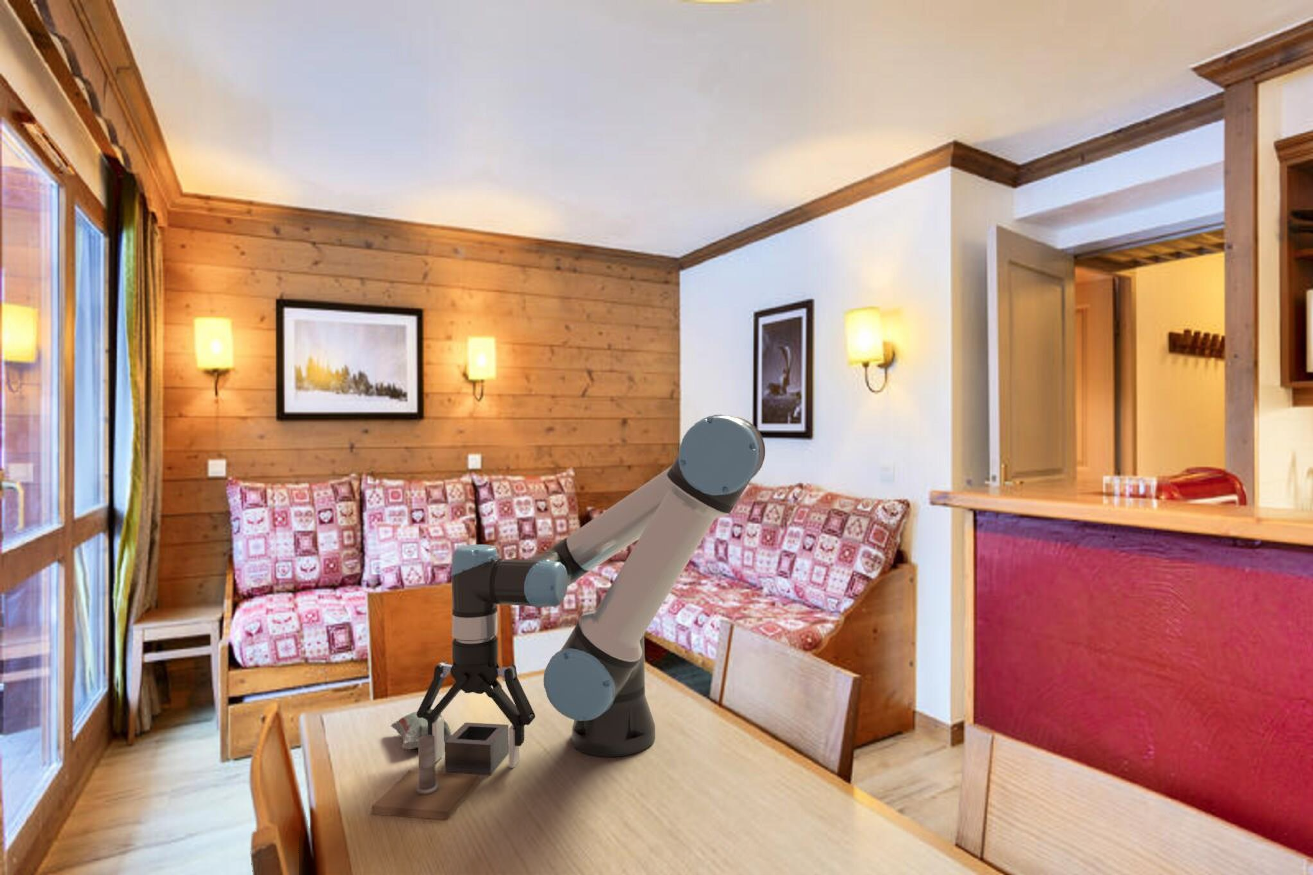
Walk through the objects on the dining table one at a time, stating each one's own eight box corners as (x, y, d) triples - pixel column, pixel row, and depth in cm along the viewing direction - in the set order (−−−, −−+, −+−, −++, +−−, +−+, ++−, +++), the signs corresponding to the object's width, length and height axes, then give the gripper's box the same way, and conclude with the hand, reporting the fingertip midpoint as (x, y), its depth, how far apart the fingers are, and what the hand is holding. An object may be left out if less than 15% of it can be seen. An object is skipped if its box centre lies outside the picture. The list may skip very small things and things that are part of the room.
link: (508, 753, 124) (508, 724, 124) (490, 775, 116) (490, 744, 116) (465, 750, 125) (465, 722, 125) (445, 772, 117) (444, 742, 117)
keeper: (478, 782, 114) (477, 725, 113) (447, 819, 103) (446, 756, 103) (409, 777, 115) (408, 721, 115) (371, 813, 105) (370, 751, 105)
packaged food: (402, 760, 122) (402, 731, 122) (390, 735, 132) (390, 708, 132) (453, 749, 126) (453, 721, 126) (438, 725, 137) (438, 700, 137)
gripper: (552, 633, 122) (553, 755, 122) (417, 627, 126) (418, 745, 126) (538, 647, 115) (539, 777, 115) (395, 640, 119) (396, 765, 119)
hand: (476, 761), depth 121 cm, fingers open, 13 cm apart
